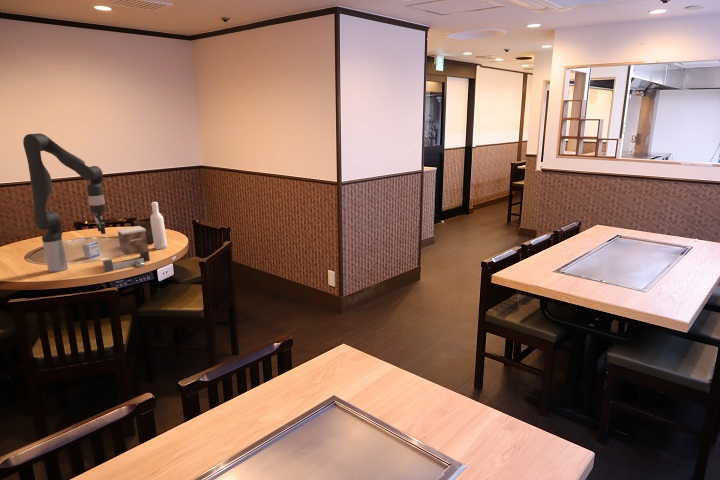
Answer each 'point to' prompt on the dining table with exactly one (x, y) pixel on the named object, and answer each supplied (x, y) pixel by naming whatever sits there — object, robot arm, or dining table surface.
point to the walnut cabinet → (134, 241)
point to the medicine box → (91, 250)
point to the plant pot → (146, 225)
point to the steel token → (139, 264)
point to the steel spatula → (119, 264)
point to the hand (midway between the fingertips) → (101, 232)
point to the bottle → (158, 228)
